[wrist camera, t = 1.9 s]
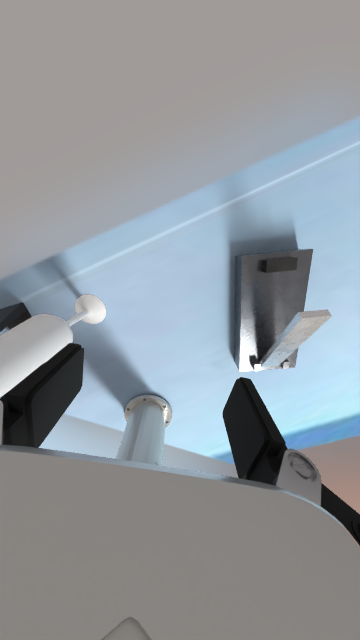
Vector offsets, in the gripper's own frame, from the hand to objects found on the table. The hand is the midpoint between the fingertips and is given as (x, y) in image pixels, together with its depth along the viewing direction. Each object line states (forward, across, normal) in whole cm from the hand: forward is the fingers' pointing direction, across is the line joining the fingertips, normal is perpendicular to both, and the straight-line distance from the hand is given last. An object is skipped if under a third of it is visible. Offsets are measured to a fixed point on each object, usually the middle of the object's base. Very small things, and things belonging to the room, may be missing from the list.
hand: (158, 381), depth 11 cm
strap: (+19, -21, +3) cm, 28 cm away
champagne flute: (+28, +17, +8) cm, 34 cm away
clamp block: (+28, -20, 0) cm, 34 cm away
